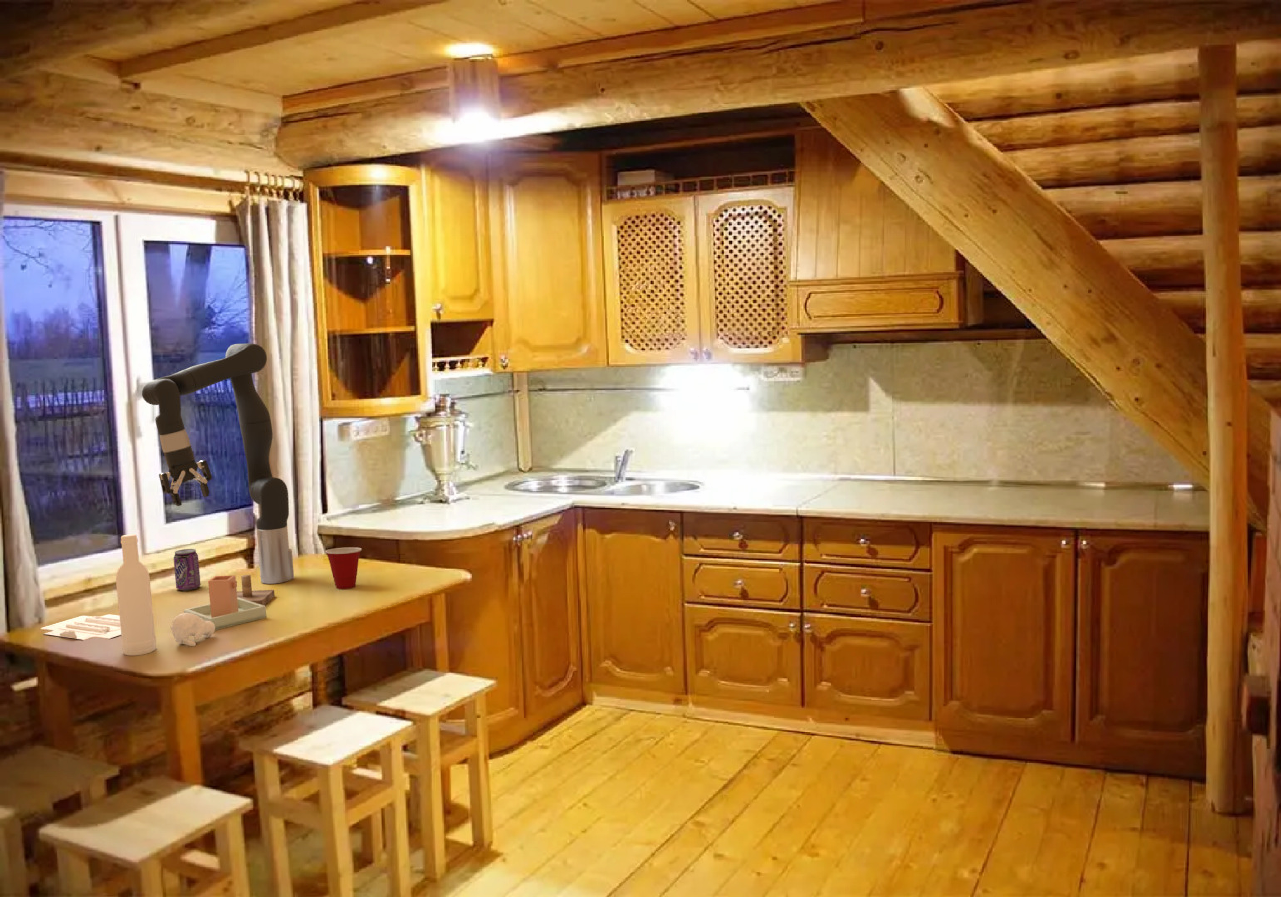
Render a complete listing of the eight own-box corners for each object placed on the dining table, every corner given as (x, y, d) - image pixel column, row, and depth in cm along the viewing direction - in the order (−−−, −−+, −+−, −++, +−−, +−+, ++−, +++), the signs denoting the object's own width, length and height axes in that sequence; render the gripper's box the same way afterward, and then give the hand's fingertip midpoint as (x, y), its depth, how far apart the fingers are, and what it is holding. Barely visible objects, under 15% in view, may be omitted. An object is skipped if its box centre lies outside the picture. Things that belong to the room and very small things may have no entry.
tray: (238, 608, 324) (237, 597, 323) (266, 617, 313) (265, 606, 313) (184, 621, 312) (183, 609, 312) (211, 631, 301) (210, 619, 301)
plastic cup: (369, 582, 350) (366, 544, 348) (357, 591, 339) (354, 552, 337) (335, 582, 351) (332, 544, 349) (322, 591, 340) (319, 552, 339)
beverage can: (172, 589, 350) (168, 551, 348) (194, 584, 355) (191, 547, 353) (182, 592, 345) (179, 554, 343) (204, 588, 350) (201, 550, 348)
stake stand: (234, 598, 336) (231, 572, 335) (274, 596, 336) (272, 570, 335) (220, 608, 324) (218, 581, 323) (262, 607, 324) (260, 580, 323)
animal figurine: (168, 614, 288) (205, 606, 298) (168, 646, 288) (205, 637, 299) (184, 616, 285) (221, 609, 295) (185, 648, 285) (221, 640, 296)
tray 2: (93, 615, 325) (92, 602, 324) (163, 628, 313) (162, 615, 312) (28, 635, 307) (27, 622, 306) (99, 649, 295) (98, 635, 294)
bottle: (115, 653, 284) (104, 537, 280) (142, 645, 291) (131, 531, 287) (137, 657, 280) (125, 539, 276) (163, 648, 287) (152, 533, 283)
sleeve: (218, 614, 315) (215, 576, 314) (241, 613, 315) (238, 575, 314) (211, 619, 310) (208, 581, 308) (235, 618, 310) (231, 580, 308)
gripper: (159, 454, 315) (176, 509, 318) (205, 440, 326) (221, 493, 329) (147, 454, 320) (163, 508, 323) (193, 441, 331) (208, 493, 334)
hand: (192, 501), depth 326 cm, fingers open, 8 cm apart
